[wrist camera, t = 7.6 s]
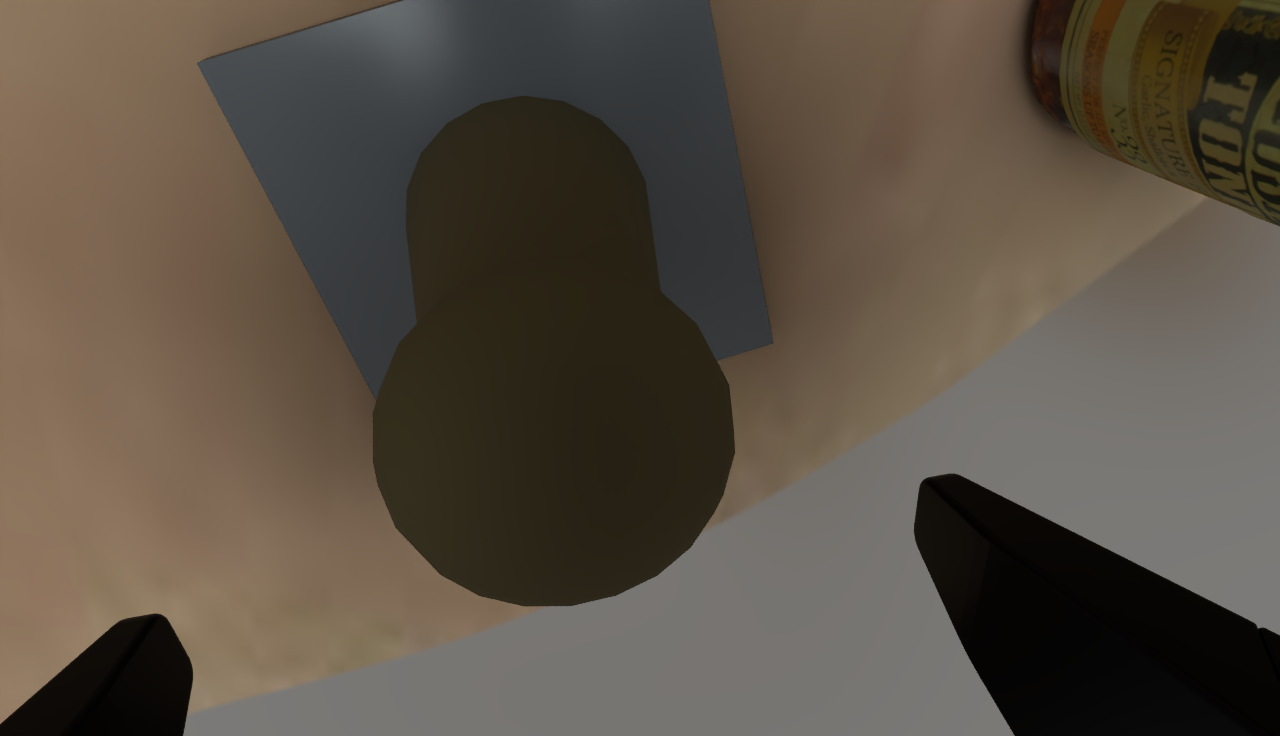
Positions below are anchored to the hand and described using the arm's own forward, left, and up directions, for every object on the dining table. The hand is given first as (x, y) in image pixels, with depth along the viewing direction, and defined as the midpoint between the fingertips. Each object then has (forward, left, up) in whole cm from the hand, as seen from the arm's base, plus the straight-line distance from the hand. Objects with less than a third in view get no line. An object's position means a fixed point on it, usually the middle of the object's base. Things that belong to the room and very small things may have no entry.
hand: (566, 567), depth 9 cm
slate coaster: (0, 0, -13) cm, 13 cm away
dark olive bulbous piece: (0, 0, -12) cm, 12 cm away
